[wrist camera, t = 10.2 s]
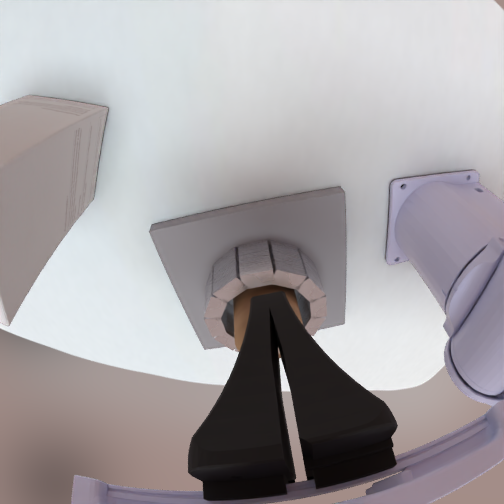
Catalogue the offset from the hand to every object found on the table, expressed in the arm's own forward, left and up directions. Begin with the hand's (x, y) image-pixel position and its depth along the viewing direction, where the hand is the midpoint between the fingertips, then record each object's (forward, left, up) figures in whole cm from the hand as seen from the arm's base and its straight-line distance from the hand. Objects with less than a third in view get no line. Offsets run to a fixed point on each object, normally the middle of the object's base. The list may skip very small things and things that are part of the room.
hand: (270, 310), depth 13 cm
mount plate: (+1, +7, -10) cm, 13 cm away
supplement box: (+13, -8, -11) cm, 18 cm away
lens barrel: (+1, +7, -9) cm, 12 cm away
